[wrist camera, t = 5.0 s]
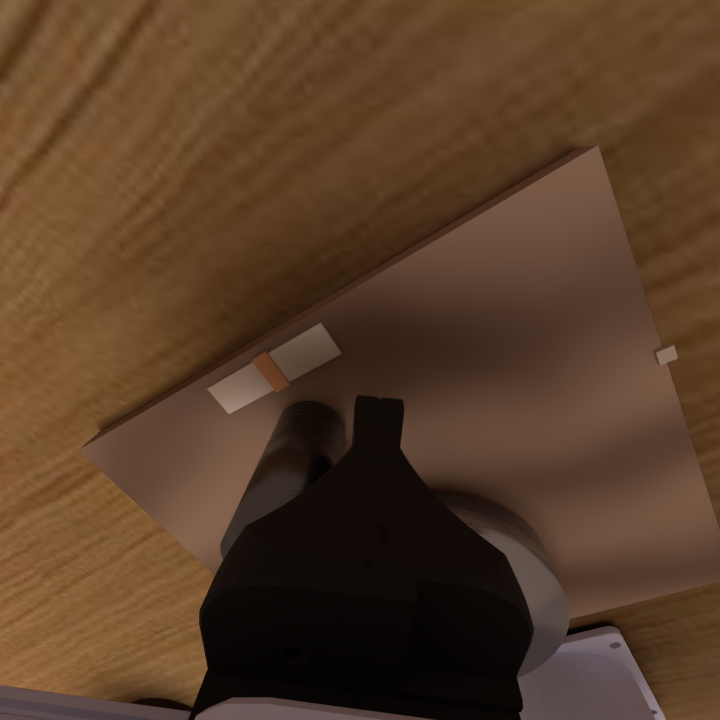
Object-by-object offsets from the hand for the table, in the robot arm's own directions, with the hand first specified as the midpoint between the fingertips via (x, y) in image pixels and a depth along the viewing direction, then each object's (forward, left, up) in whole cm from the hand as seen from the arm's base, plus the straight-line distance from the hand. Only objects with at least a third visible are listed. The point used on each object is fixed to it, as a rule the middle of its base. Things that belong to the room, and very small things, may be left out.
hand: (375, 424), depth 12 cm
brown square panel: (-5, +2, -3) cm, 6 cm away
